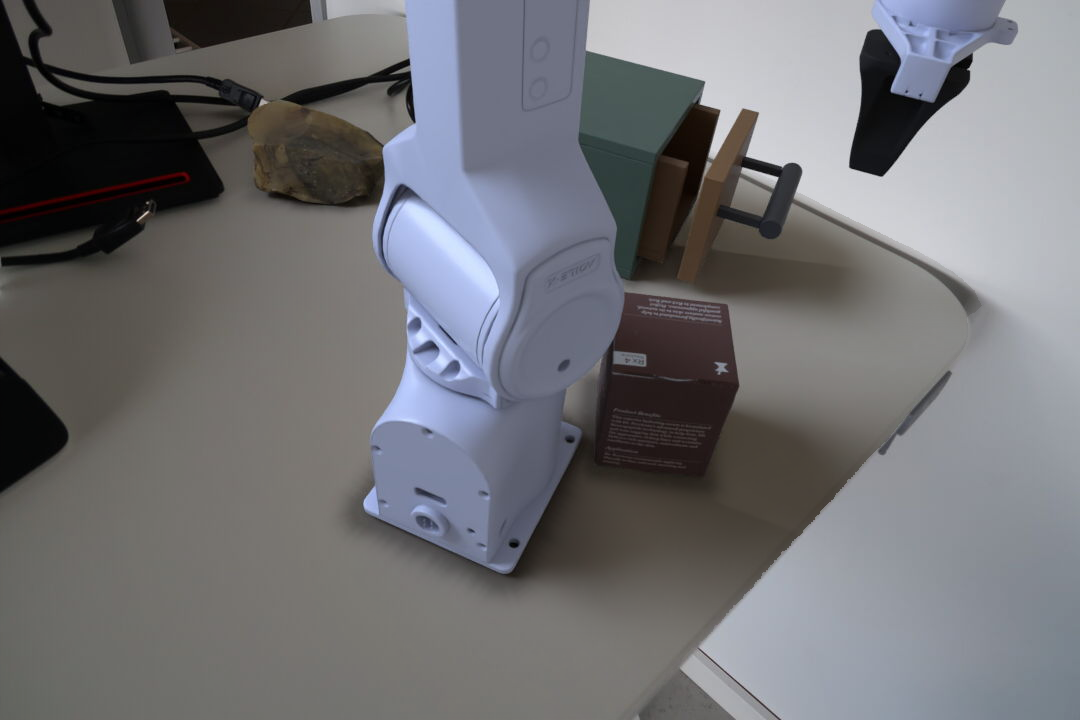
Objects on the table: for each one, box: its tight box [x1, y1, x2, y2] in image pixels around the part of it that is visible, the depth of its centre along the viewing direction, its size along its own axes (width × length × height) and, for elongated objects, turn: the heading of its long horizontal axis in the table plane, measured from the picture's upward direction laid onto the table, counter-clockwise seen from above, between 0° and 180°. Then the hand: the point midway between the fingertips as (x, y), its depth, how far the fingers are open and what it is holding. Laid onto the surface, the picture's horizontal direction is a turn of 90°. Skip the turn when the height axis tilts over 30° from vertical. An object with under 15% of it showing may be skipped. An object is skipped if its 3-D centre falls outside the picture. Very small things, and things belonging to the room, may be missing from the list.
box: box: [593, 291, 741, 478], centre depth 38 cm, size 6×6×7 cm
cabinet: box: [578, 50, 706, 280], centre depth 52 cm, size 14×12×10 cm
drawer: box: [637, 103, 803, 285], centre depth 51 cm, size 17×10×8 cm, turn 66°
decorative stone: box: [246, 98, 385, 205], centre depth 55 cm, size 10×9×4 cm
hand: (866, 167), depth 45 cm, fingers closed
